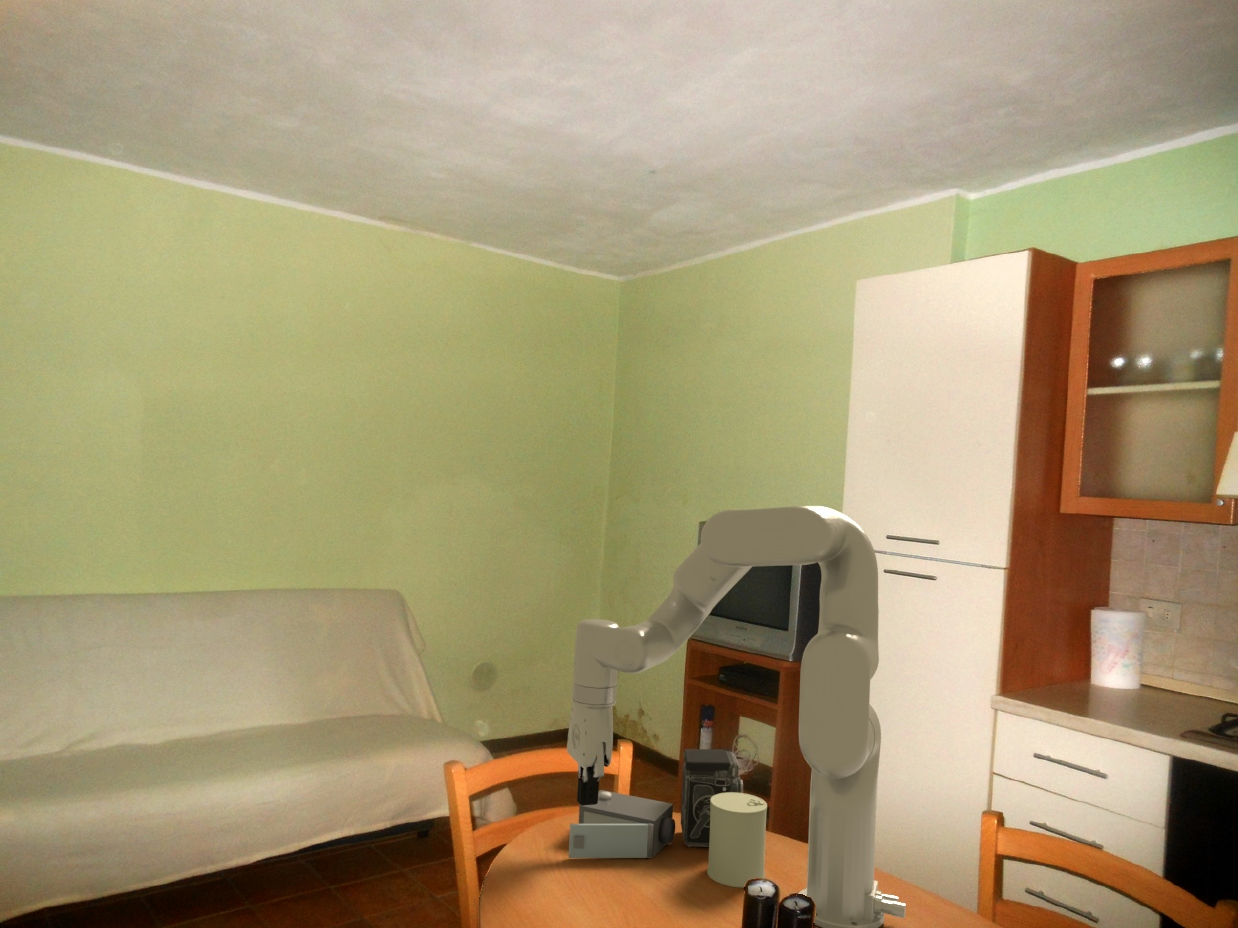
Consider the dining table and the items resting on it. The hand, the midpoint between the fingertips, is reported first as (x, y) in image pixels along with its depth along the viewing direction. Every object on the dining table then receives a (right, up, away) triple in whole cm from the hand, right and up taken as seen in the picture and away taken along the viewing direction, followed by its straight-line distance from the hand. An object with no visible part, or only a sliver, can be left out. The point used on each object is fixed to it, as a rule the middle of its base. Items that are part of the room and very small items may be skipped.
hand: (587, 802), depth 143 cm
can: (+24, -9, -7) cm, 27 cm away
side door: (+4, -8, -3) cm, 9 cm away
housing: (+6, -8, +5) cm, 12 cm away
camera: (+22, -9, +6) cm, 24 cm away
